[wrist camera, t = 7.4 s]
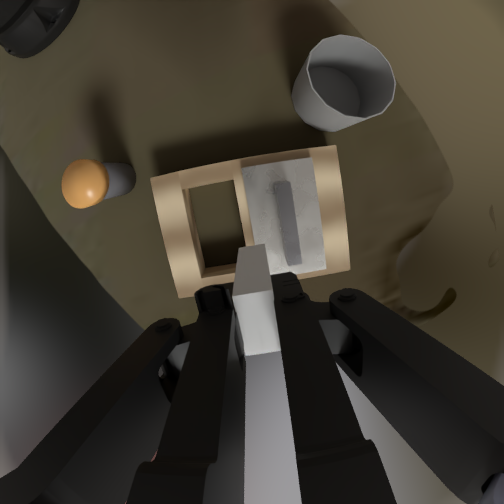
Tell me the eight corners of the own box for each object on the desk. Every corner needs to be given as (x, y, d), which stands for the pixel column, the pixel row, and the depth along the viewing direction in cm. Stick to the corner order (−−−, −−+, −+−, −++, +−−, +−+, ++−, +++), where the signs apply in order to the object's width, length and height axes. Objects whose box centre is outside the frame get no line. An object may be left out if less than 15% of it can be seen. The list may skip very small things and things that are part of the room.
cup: (340, 60, 29) (369, 28, 19) (370, 118, 31) (409, 104, 21) (279, 80, 30) (289, 49, 20) (310, 141, 32) (333, 131, 22)
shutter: (241, 168, 29) (240, 167, 26) (310, 157, 29) (317, 156, 26) (261, 277, 33) (262, 289, 29) (324, 266, 32) (332, 277, 29)
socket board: (159, 177, 33) (150, 178, 30) (327, 147, 32) (335, 145, 29) (185, 286, 37) (179, 298, 33) (341, 260, 36) (350, 269, 33)
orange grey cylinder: (103, 165, 32) (58, 167, 23) (134, 156, 32) (95, 153, 23) (109, 200, 34) (66, 212, 24) (141, 192, 34) (104, 202, 24)
